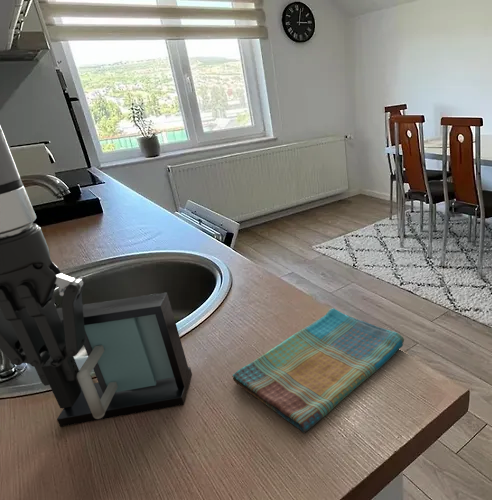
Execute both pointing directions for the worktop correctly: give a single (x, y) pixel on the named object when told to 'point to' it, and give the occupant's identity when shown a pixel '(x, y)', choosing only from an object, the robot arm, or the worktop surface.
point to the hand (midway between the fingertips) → (71, 399)
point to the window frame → (159, 353)
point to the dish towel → (318, 367)
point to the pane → (113, 362)
